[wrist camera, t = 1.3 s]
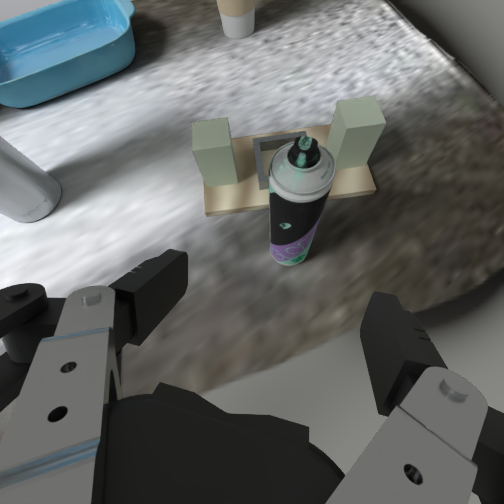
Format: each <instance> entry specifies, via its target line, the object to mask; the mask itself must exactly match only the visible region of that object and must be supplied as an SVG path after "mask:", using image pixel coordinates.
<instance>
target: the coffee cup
mask: <svg viewBox="0 0 504 504" xmlns="http://www.w3.org/2000/svg"><path fill="white" fill-rule="evenodd" d="M217 4H218V9H219V11H220V15H221V20H222V24H223V29H224V33H225V35H226V36H228V37H229V38H233V39H241V38H245V37H247V36H249V35H251V34H252V33H253V31H254V7H255V0H217Z"/></svg>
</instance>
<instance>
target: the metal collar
mask: <svg viewBox="0 0 504 504" xmlns="http://www.w3.org/2000/svg"><path fill="white" fill-rule="evenodd" d="M299 136H307V133H306V131H301V132H294V133H287V134H280V135H273V136H266V137H259V138H253V149H254V156H255V162H256V169H257V176H258V183H259V190H265V189H269V175H267V176H265V174H264V168H263V162H262V155H261V151H267V150H274V149H279V148H280V147H281V146H283V145H285V144H287V143H290V142H294V141H295V139H296V138H297V137H299Z"/></svg>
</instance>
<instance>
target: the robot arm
mask: <svg viewBox="0 0 504 504" xmlns="http://www.w3.org/2000/svg"><path fill="white" fill-rule="evenodd" d="M60 197H61V187H60V185H59V183H58V182H57V181H56V180H55V179H54V178H52V177H51V176H50V175H49V174H47V173H46V172H45V171H44V170H42V169H41V168H40V167H38V166H37V165H36V164H35V163H34V162H32V161H31V160H30V159H28V158H27V157H26V156H25V155H23V154H22V153H21V152H20V151H18V150H17V149H16V148H14V147H13V146H12V145H11V144H9V143H8V142H7V141H6V140H4V139H3V138H2V137H1V136H0V213H1V214H3V215H5V216H7V217H9V218H11V219H13V220H15V221H18V222H22V223H29V222H34V221H37V220H39V219H41V218H43V217H45V216H46V215H48V214H49V213H50V212H51V211H52V210H53V209H54V208H55V207H56V205H57V204H58V202H59V200H60ZM187 286H188V255H187V253H186V252H183V251H178V250H173V249H169V250H167V251H166V252H164V253H163V254H161V255H160V256H159V257H155V258H152V259H149V260H146V261H144V262H143V263H141V264H140V265H138V266H137V267H135V268H134V269H133V270H131V272H128V273H127V274H125V275H124V276H122V277H121V278H119V279H118V280H116V281H115V282H113V283H112V284H111V285H109V286H108V287H107V286H89V287H85V288H82V289H79V290H77V291H75V292H73V293H72V294H70V295H69V296H68V297H67V298H47V295H46V291H45V288H44V287H43V286H42V285H40V284H35V283H25V284H18V285H13V286H10V287H6V288H4V289H1V290H0V338H2V340H3V343H4V346H5V348H6V351H7V352H5V353H4V354H2V355H1V356H0V412H1V411H2V410H3V409H4V408H5V407H7V406H8V405H9V404H10V403H11V402H12V401H13V400H14V399H15V398H17V397H18V396H19V397H18V400H17V402H16V405H15V407H14V410H13V412H12V415H11V418H10V420H9V423H8V425H7V428H6V430H5V433H4V435H3V438H2V441H1V443H0V504H468V501H469V498H470V495H471V492H473V493H475V494H476V495H478V496H479V499H480V501H481V504H504V413H502V412H500V411H497V410H495V409H493V408H491V407H489V406H488V404H487V401H486V399H485V398H484V396H483V395H482V393H481V392H480V391H479V390H478V389H477V388H476V387H475V386H474V385H473V384H472V383H471V382H469V381H468V380H467V379H465V378H464V377H462V376H460V375H459V374H457V373H455V372H453V371H451V370H449V369H448V368H447V366H446V365H445V363H444V361H443V360H442V358H441V356H440V354H439V353H438V351H437V349H436V348H435V346H434V344H433V343H432V342H431V341H430V340H431V339H430V338H429V336H428V334H427V333H425V329H424V328H423V326H422V324H421V323H420V321H419V320H418V319H417V318H416V317H415V316H414V315H412V314H411V313H410V312H409V311H406V310H404V309H403V308H402V306H401V304H400V302H399V300H398V298H397V297H396V296H395V295H390V294H385V293H380V292H374V293H373V294H372V296H371V298H370V301H369V304H368V307H367V309H366V312H365V315H364V318H363V320H362V323H361V328H360V338H361V342H362V346H363V350H364V355H365V359H366V363H367V368H368V372H369V376H370V380H371V384H372V388H373V393H374V397H375V401H376V405H377V410H378V413H379V414H380V415H384V416H387V417H388V418H387V419H386V421H385V422H384V423H383V425H382V426H381V428H380V429H379V430H378V432H377V433H376V434H375V436H374V437H373V439H372V440H371V441H370V443H369V444H368V446H367V447H366V448H365V450H364V451H363V453H362V454H361V455H360V457H359V458H358V459H357V461H356V462H355V463H354V465H353V466H352V468H351V469H350V471H349V472H348V473H347V474H346V476H345V474H344V473H343V472H342V470H341V469H340V468H339V467H338V466H337V465H336V464H335V463H334V461H332V460H331V459H330V458H329V457H328V456H327V455H326V454H325V453H324V452H323V451H321V450H320V449H318V448H317V447H316V446H315V445H313V444H311V443H310V442H309V427H307V426H304V425H301V424H298V423H294V422H291V421H288V420H284V419H281V418H278V417H274V416H271V415H253V414H230V413H226V412H224V411H223V410H221V409H219V408H218V407H216V406H215V405H213V404H212V403H210V402H208V401H207V400H205V399H204V398H202V397H201V396H199V395H197V394H196V393H194V392H191V391H188V390H185V389H181V388H178V387H175V386H171V385H168V384H165V383H161V382H160V383H159V384H158V386H157V387H156V389H155V390H154V392H153V394H142V395H135V396H130V397H126V398H123V347H124V346H125V345H126V344H127V343H130V344H133V345H137V346H140V345H141V344H142V342H143V341H144V340H145V339H146V338H147V337H148V336H149V334H150V333H151V332H152V331H153V330H154V329H155V328H156V326H157V325H158V324H159V323H160V322H161V321H162V320H163V318H164V317H165V316H166V315H167V314H168V313H169V312H170V310H171V309H172V308H173V307H174V306H175V305H176V304H177V302H178V301H179V300H180V299H181V298H182V297H183V295H184V294H185V292H186V289H187Z"/></svg>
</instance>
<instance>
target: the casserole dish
mask: <svg viewBox="0 0 504 504" xmlns="http://www.w3.org/2000/svg"><path fill="white" fill-rule="evenodd" d="M134 14H135V8H134V6H133V4H132V3H131V1H130V0H62V1H59V2H56V3H53V4H50V5H48V6H45V7H42V8H39V9H36V10H33V11H30V12H28V13H25V14H22V15H19V16H16V17H13V18H10V19H8V20H5V21H2V22H0V104H3V105H5V106H9V107H15V108H26V107H30V106H34V105H37V104H40V103H43V102H45V101H48V100H51V99H54V98H56V97H59V96H61V95H64V94H66V93H69V92H71V91H74V90H76V89H78V88H82V87H84V86H87V85H89V84H92V83H94V82H97V81H99V80H101V79H104V78H106V77H108V76H110V75H113V74H115V73H117V72H119V71H121V70H123V69H125V68H126V67H127V66H129V65H130V64H131V62H132V60H133V58H134V55H135V42H134V37H133V32H132V26H131V18H132V17H133V16H134Z"/></svg>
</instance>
